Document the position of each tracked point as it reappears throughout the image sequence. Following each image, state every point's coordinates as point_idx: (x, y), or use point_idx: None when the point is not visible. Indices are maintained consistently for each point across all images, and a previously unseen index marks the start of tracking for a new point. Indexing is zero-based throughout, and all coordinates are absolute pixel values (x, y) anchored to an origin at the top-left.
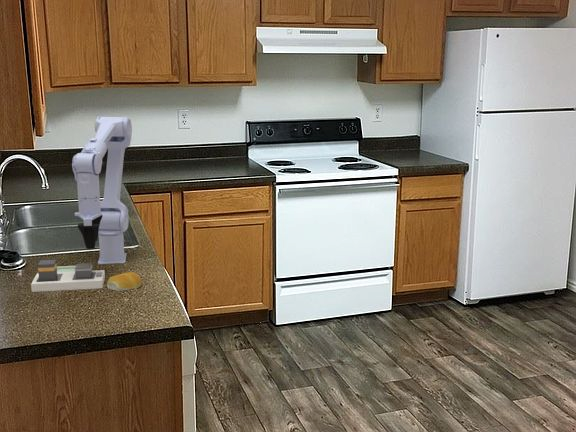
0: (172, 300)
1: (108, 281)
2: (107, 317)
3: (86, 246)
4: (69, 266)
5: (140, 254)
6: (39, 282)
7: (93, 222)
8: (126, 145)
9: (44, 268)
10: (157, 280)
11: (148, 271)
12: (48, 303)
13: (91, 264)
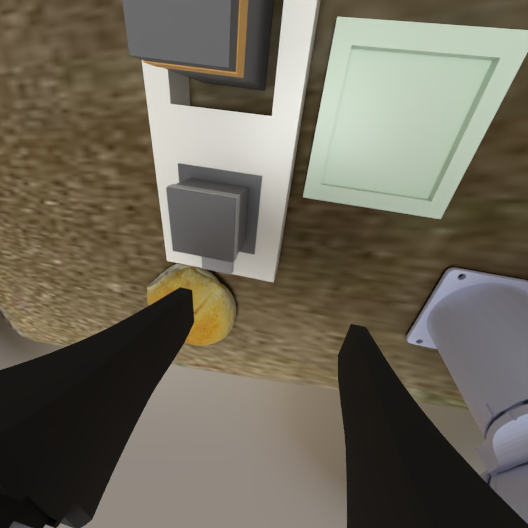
0: None
1: (175, 275)
2: (10, 236)
3: (166, 296)
4: (467, 147)
5: None
6: None
7: (369, 516)
8: None
9: None
10: (230, 360)
11: (302, 363)
12: (55, 62)
13: (214, 258)
